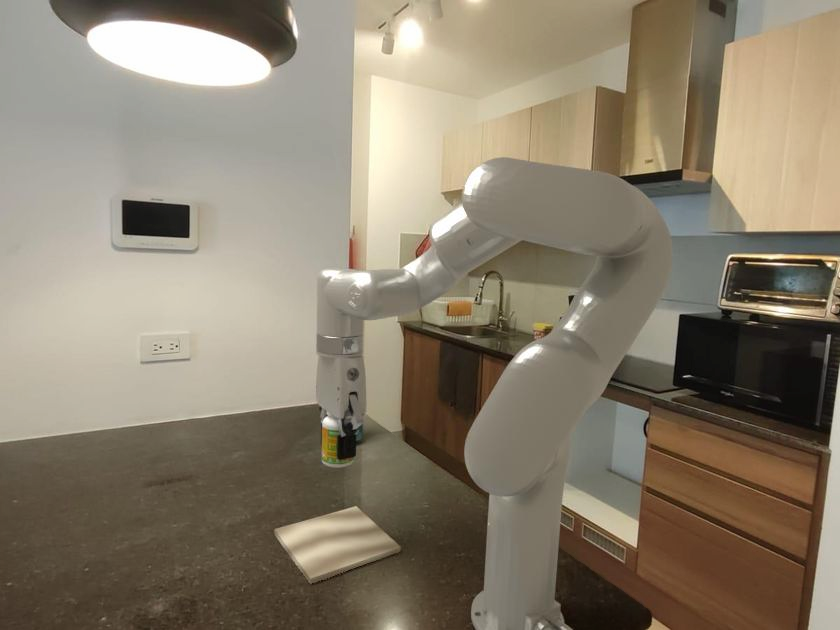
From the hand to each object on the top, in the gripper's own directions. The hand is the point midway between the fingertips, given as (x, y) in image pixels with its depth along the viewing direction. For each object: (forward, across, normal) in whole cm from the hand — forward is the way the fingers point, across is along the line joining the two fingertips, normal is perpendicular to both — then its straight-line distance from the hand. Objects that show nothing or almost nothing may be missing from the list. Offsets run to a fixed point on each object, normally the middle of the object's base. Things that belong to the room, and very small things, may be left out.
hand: (337, 450), depth 86 cm
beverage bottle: (+17, +40, -23) cm, 49 cm away
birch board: (+17, 0, 0) cm, 17 cm away
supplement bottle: (+2, 0, 0) cm, 2 cm away
